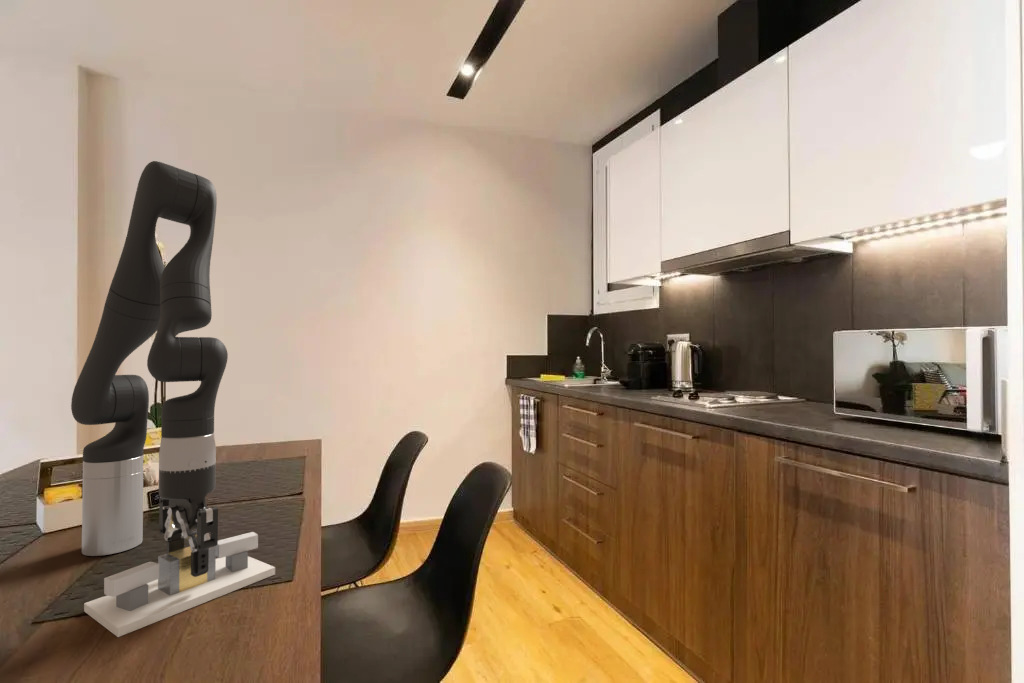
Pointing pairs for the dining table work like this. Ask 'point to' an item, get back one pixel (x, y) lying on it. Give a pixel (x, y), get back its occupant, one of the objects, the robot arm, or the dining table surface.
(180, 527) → the robot arm
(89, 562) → the dining table surface
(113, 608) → the stand
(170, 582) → the block
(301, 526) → the dining table surface
